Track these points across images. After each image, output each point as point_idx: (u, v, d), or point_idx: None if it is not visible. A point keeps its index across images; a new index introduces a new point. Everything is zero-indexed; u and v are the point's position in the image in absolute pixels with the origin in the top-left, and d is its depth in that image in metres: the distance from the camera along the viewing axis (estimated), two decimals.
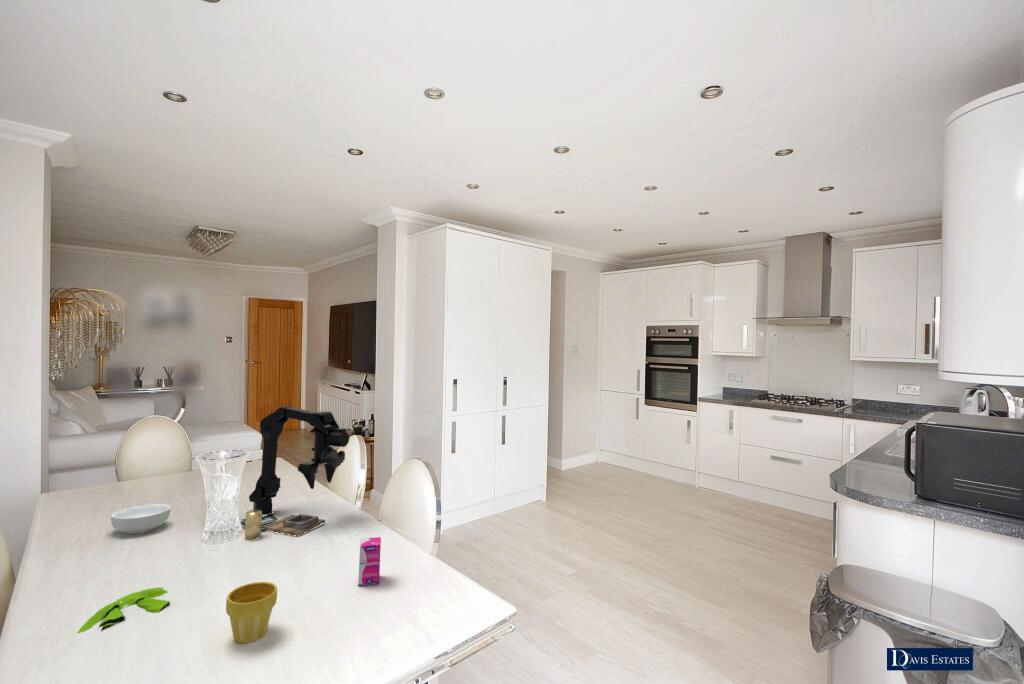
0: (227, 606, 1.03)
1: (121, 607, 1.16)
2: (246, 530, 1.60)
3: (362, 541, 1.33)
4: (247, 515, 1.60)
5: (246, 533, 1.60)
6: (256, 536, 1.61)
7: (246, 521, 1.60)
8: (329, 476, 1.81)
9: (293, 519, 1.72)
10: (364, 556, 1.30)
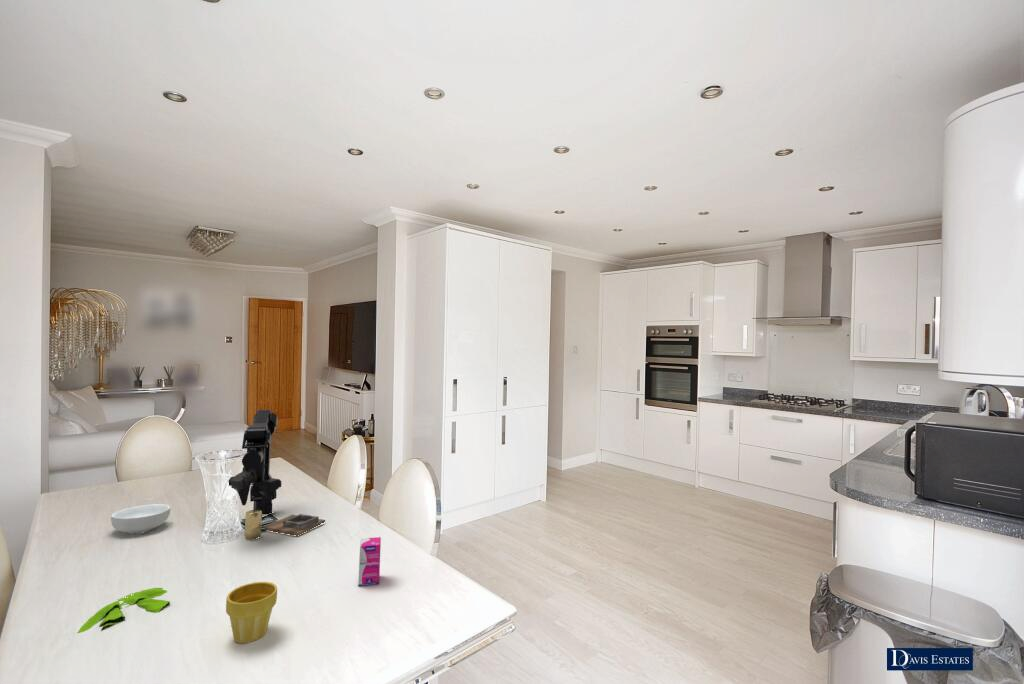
0: (227, 606, 1.03)
1: (121, 607, 1.16)
2: (246, 530, 1.60)
3: (362, 541, 1.33)
4: (247, 515, 1.60)
5: (246, 533, 1.60)
6: (256, 536, 1.61)
7: (246, 521, 1.60)
8: None
9: (293, 519, 1.72)
10: (364, 556, 1.30)
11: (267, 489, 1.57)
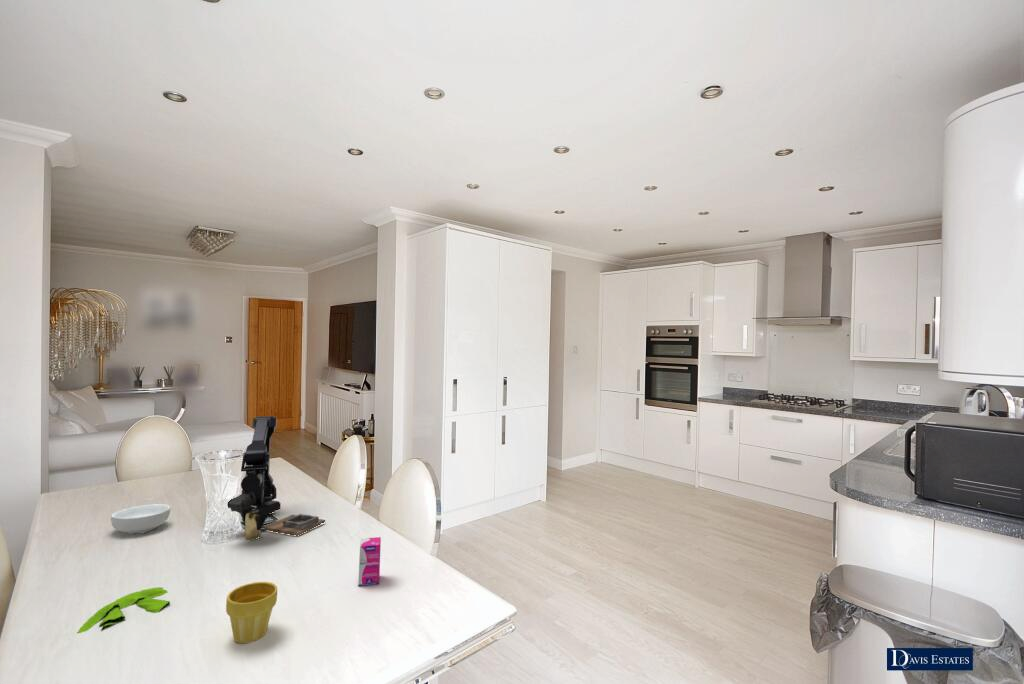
0: (227, 606, 1.03)
1: (121, 607, 1.16)
2: (246, 530, 1.60)
3: (362, 541, 1.33)
4: (247, 515, 1.60)
5: (246, 533, 1.60)
6: (256, 536, 1.61)
7: (246, 521, 1.60)
8: None
9: (293, 519, 1.72)
10: (364, 556, 1.30)
11: (266, 512, 1.57)
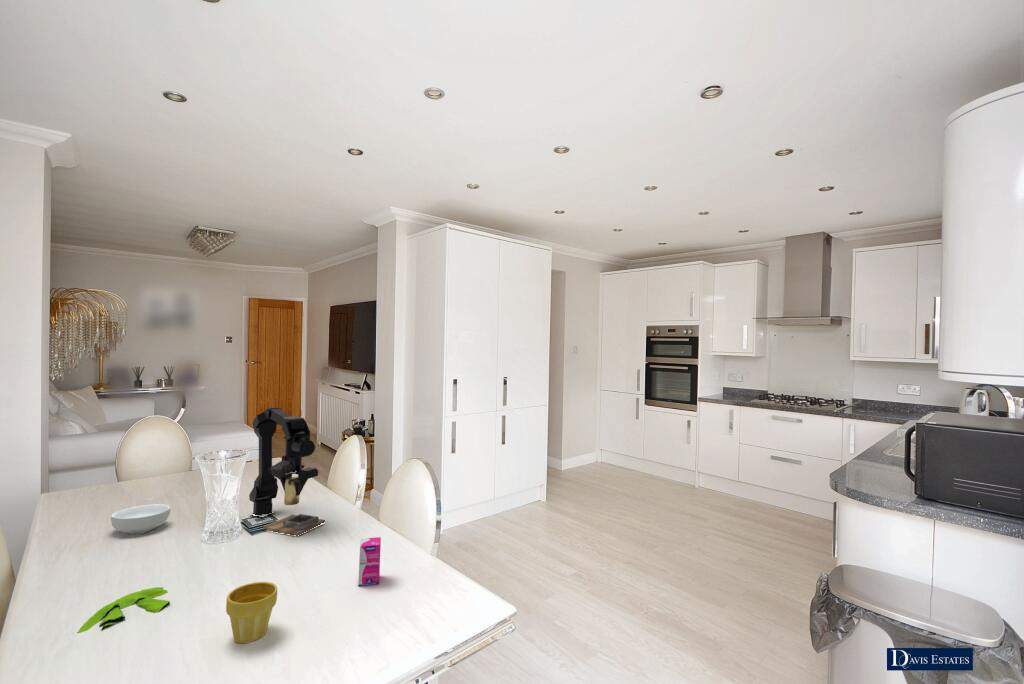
0: (227, 606, 1.03)
1: (121, 607, 1.16)
2: (286, 495, 1.67)
3: (362, 541, 1.33)
4: (287, 481, 1.68)
5: (286, 498, 1.67)
6: (295, 501, 1.68)
7: (286, 487, 1.68)
8: None
9: (293, 519, 1.72)
10: (364, 556, 1.30)
11: (305, 477, 1.64)
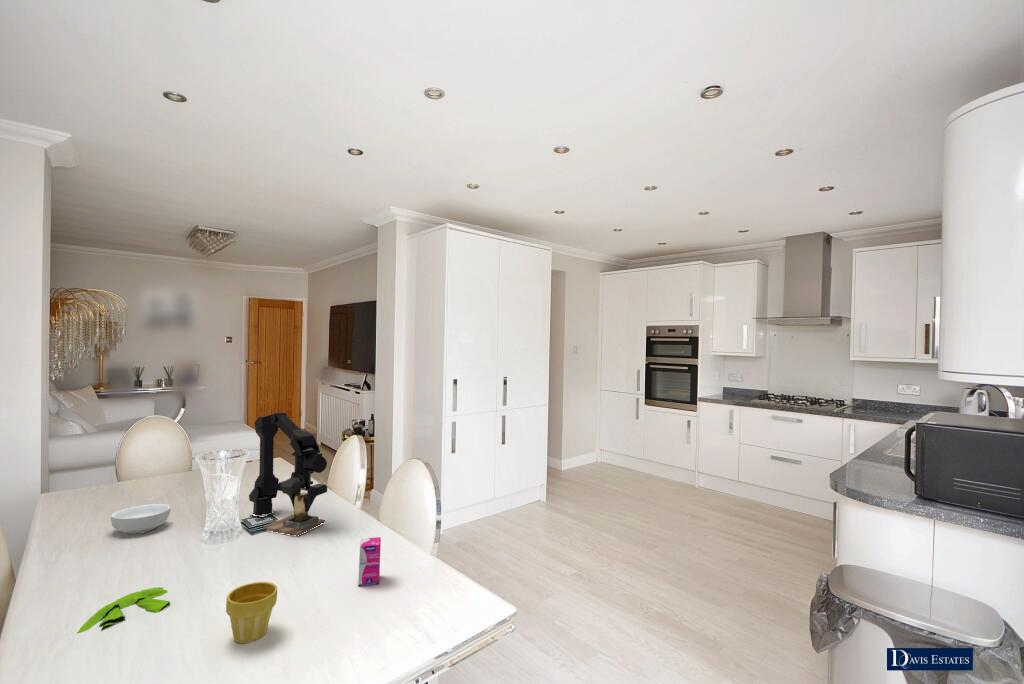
0: (227, 606, 1.03)
1: (121, 607, 1.16)
2: (295, 511, 1.69)
3: (362, 541, 1.33)
4: (296, 497, 1.69)
5: (295, 514, 1.69)
6: (304, 517, 1.70)
7: (295, 503, 1.70)
8: None
9: (293, 519, 1.72)
10: (364, 556, 1.30)
11: (315, 494, 1.66)
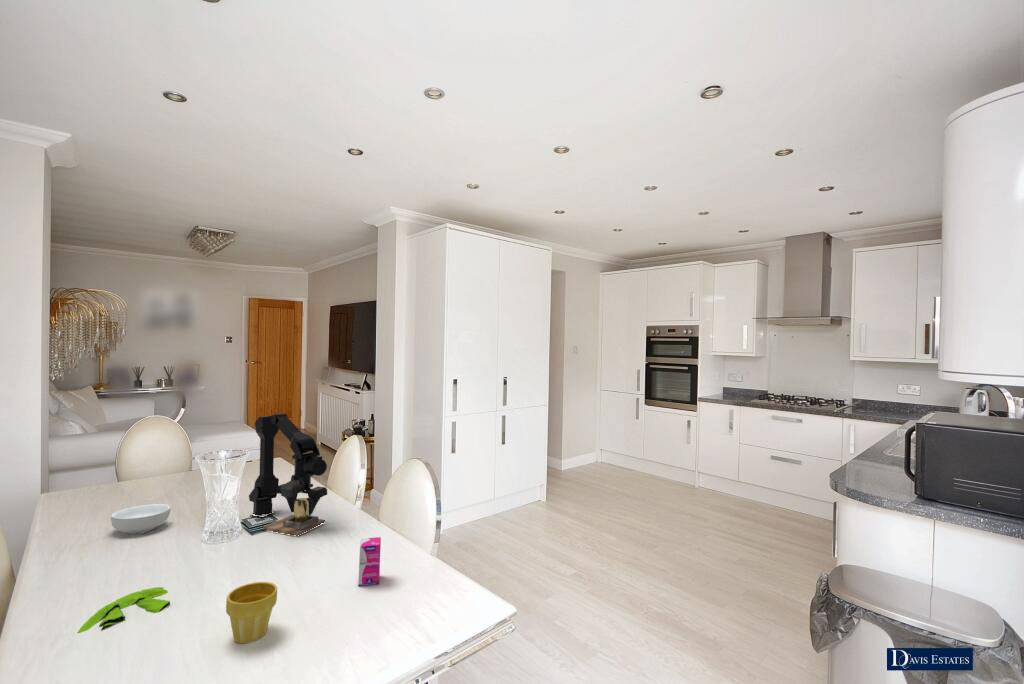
0: (227, 606, 1.03)
1: (121, 607, 1.16)
2: (295, 516, 1.69)
3: (362, 541, 1.33)
4: (296, 502, 1.70)
5: (295, 519, 1.69)
6: None
7: (295, 508, 1.70)
8: None
9: (293, 519, 1.72)
10: (364, 556, 1.30)
11: (315, 497, 1.66)
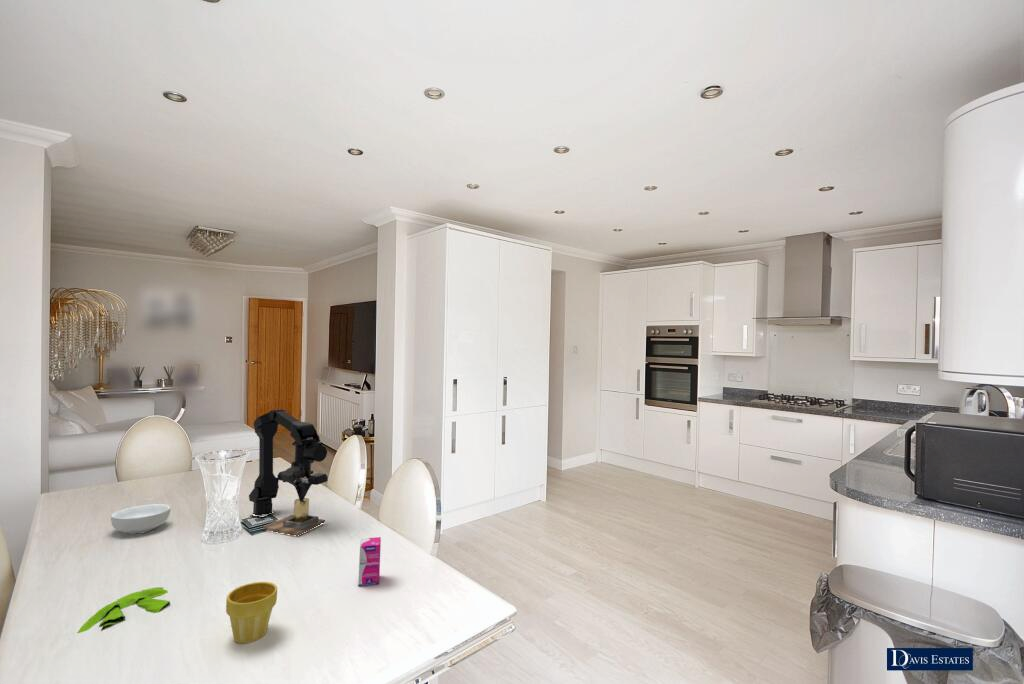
0: (227, 606, 1.03)
1: (121, 607, 1.17)
2: (295, 517, 1.69)
3: (362, 541, 1.33)
4: (296, 503, 1.69)
5: (295, 519, 1.69)
6: None
7: (295, 508, 1.70)
8: None
9: (293, 519, 1.72)
10: (364, 556, 1.30)
11: (315, 483, 1.66)
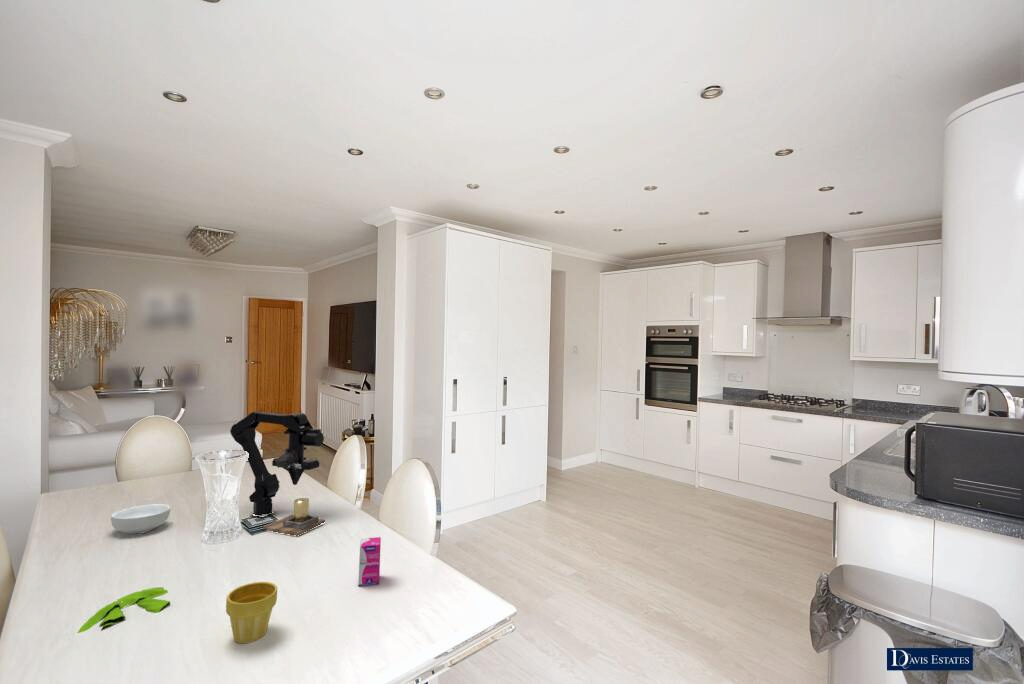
0: (227, 606, 1.03)
1: (122, 607, 1.17)
2: (295, 517, 1.69)
3: (362, 541, 1.33)
4: (296, 503, 1.69)
5: (295, 519, 1.69)
6: None
7: (295, 508, 1.70)
8: None
9: (293, 519, 1.72)
10: (364, 556, 1.30)
11: (308, 468, 1.78)
